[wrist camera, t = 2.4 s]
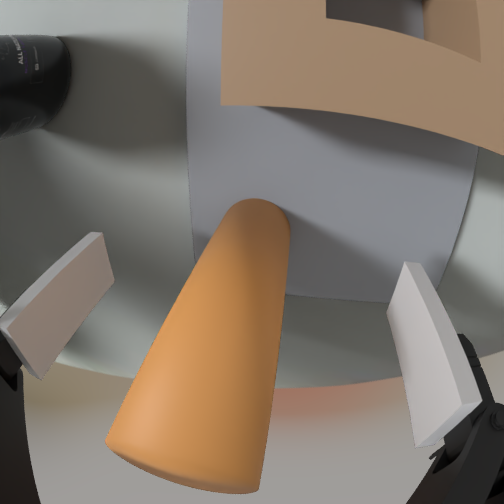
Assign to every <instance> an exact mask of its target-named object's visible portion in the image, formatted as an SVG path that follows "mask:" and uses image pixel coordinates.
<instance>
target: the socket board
mask: <svg viewBox="0 0 504 504" xmlns="http://www.w3.org/2000/svg"><path fill="white" fill-rule="evenodd" d="M186 118H187V152H188V174H189V192H190V207H191V221H192V234H193V245H194V256H195V265H196V263H197V262H198V260H199V258H200V256H201V255H202V253H203V251H204V249H205V248H206V246H207V244H208V243H209V241H210V239H211V237H212V236H213V234H214V232H215V231H216V229H217V227H218V226H219V224H220V222H221V221H222V219H223V217H224V215H225V214H226V212H227V211H228V210H229V208H230V207H231V206H233V205H234V204H235V203H237V202H239V201H242V200H245V199H250V198H258V199H263V200H267V201H269V202H271V203H273V204H275V205H276V206H278V207H279V208H280V209H281V210H282V211H283V212H284V214H285V215H286V217H287V219H288V221H289V224H290V230H291V231H290V246H289V258H288V269H287V280H286V290H285V295H293V296H303V297H314V298H326V299H338V300H351V301H364V302H379V303H390V301H391V299H392V296H393V293H394V291H395V288H396V285H397V282H398V279H399V277H400V274H401V271H402V268H403V265H404V261H405V262H415V263H420V264H421V265H422V267H423V269H424V271H425V272H426V274H427V276H428V278H429V279H430V281H431V283H432V285H433V287H434V289H435V291H436V290H437V288H438V286H439V283H440V281H441V278H442V276H443V273H444V271H445V268H446V266H447V263H448V260H449V258H450V255H451V252H452V249H453V247H454V244H455V241H456V238H457V235H458V232H459V228H460V225H461V222H462V218H463V215H464V212H465V208H466V204H467V200H468V197H469V193H470V188H471V184H472V180H473V175H474V170H475V166H476V160H477V155H478V149H479V146H480V147H483V148H485V149H488V150H491V151H493V152H496V153H498V154H501V155H503V156H504V0H189V4H188V23H187V54H186Z"/></svg>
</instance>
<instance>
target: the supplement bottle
mask: <svg viewBox="0 0 504 504" xmlns="http://www.w3.org/2000/svg"><path fill="white" fill-rule="evenodd" d="M70 74H71V63H70V56H69V53H68V50H67V48H66V46H65V45H64V43H63V42H62V41H61V40H60V39H58V38H56V37H54V36H48V35H0V140H3V139H6V138H8V137H11V136H14V135H17V134H20V133H23V132H27V131H29V130H33V129H36V128H39V127H41V126H43V125H45V124H46V123H48V122H49V121H50V120H51V119H52V118H53V117H54V116H55V114H56V113H57V112H58V110H59V109H60V107H61V105H62V103H63V101H64V99H65V96H66V94H67V90H68V86H69V82H70Z"/></svg>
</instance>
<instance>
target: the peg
mask: <svg viewBox="0 0 504 504" xmlns="http://www.w3.org/2000/svg"><path fill="white" fill-rule="evenodd" d="M290 231H291V230H290V224H289V221H288V219H287V217H286V215H285V214H284V212H283V211H282V210H281V209H280V208H279V207H278V206H276V205H275V204H273V203H271V202H269V201H267V200H263V199H258V198H250V199H245V200H242V201H239V202H237V203H235V204H234V205H233V206H231V207H230V208H229V210H228V211H227V212H226V214H225V215H224V217H223V219H222V221H221V222H220V224H219V226H218V227H217V229H216V231H215V232H214V234H213V236H212V237H211V239H210V241H209V243H208V244H207V246H206V248H205V249H204V251H203V253H202V255H201V256H200V258H199V260H198V262H197V263H196V265H195V267H194V269H193V270H192V272H191V274H190V276H189V278H188V279H187V281H186V283H185V285H184V286H183V288H182V290H181V292H180V294H179V295H178V297H177V299H176V301H175V303H174V305H173V306H172V308H171V310H170V312H169V314H168V316H167V317H166V319H165V321H164V323H163V325H162V327H161V329H160V331H159V332H158V334H157V336H156V338H155V340H154V342H153V344H152V346H151V348H150V350H149V352H148V353H147V355H146V357H145V359H144V361H143V363H142V365H141V367H140V369H139V371H138V373H137V375H136V377H135V379H134V381H133V383H132V385H131V387H130V389H129V391H128V393H127V395H126V397H125V399H124V401H123V403H122V405H121V408H120V410H119V412H118V414H117V416H116V418H115V420H114V422H113V425H112V427H111V429H110V431H109V433H108V435H107V437H106V439H105V443H106V445H107V446H108V447H109V448H110V449H111V450H112V451H113V452H114V453H116V454H117V455H118V456H120V457H121V458H122V459H124V460H126V461H127V462H129V463H131V464H132V465H134V466H136V467H138V468H140V469H142V470H144V471H146V472H149V473H151V474H153V475H155V476H158V477H161V478H163V479H166V480H169V481H172V482H174V483H178V484H181V485H184V486H188V487H192V488H196V489H201V490H206V491H211V492H218V493H227V494H248V493H253V492H256V491H258V489H259V485H260V479H261V473H262V467H263V461H264V454H265V448H266V442H267V436H268V429H269V422H270V415H271V408H272V401H273V394H274V386H275V379H276V371H277V363H278V355H279V346H280V337H281V329H282V319H283V310H284V300H285V290H286V280H287V269H288V258H289V246H290Z"/></svg>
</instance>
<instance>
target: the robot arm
mask: <svg viewBox="0 0 504 504" xmlns="http://www.w3.org/2000/svg"><path fill="white" fill-rule="evenodd" d="M114 282H115V279H114V276H113V272H112V269H111V265H110V261H109V257H108V253H107V249H106V245H105V241H104V237H103V233H100V232H90V233H89V234H87V235H86V236H85V237H84V238H83V239H81V240H80V241H79V242H78V243H77V244H76V245H74V246H73V247H72V248H71V249H70V250H69V251H68V252H66V253H65V254H64V255H63V256H62V257H61V258H60V259H59V260H57V261H56V262H55V263H54V264H53V265H52V266H51V267H50V268H49V269H48V270H47V271H46V272H45V273H43V274H42V275H41V276H40V277H39V278H38V279H37V280H36V281H35V282H34V283H33V284H32V285H31V286H30V287H28V288H27V289H26V290H25V291H24V292H23V293H22V294H21V295H20V297H18V298H17V299H16V300H15V303H13V304H12V305H11V306H10V307H9V308H8V309H7V310H6V311H5V312H4V313H3V315H2V316H1V317H0V504H41V503H40V499H39V496H38V492H37V488H36V484H35V480H34V475H33V470H32V465H31V461H30V454H29V448H28V441H27V433H26V423H25V412H24V393H23V372H22V370H21V369H20V367H21V366H22V364H23V365H24V366H25V368H26V369H27V370H28V372H29V373H30V374H31V375H33V376H35V377H36V378H38V379H40V380H42V379H43V377H44V376H45V374H46V373H47V371H48V370H49V368H50V367H51V365H52V364H53V362H54V361H55V360H56V358H57V357H58V355H59V354H60V352H61V351H62V350H63V348H64V347H65V345H66V344H67V343H68V341H69V340H70V338H71V337H72V336H73V334H74V333H75V332H76V330H77V329H78V328H79V326H80V325H81V324H82V322H83V321H84V320H85V318H86V317H87V316H88V315H89V313H90V312H91V311H92V309H93V308H94V307H95V306H96V304H97V303H98V302H99V301H100V299H101V298H102V297H103V296H104V294H105V293H106V292H107V291H108V289H109V288H110V287H111V286H112V284H113V283H114ZM386 314H387V318H388V321H389V325H390V328H391V332H392V336H393V340H394V343H395V347H396V351H397V355H398V359H399V364H400V368H401V372H402V377H403V381H404V386H405V391H406V396H407V401H408V407H409V412H410V418H411V424H412V431H413V437H414V445H415V448H420V447H426V446H431V445H435V444H436V443H437V442H438V441H439V440H441V439H442V438H443V437H444V441H445V445H444V446H442V447H441V448H440V449H438V450H437V451H436V452H435V453H433V454H432V455H431V456H430V457H429V459H430V460H431V459H433V458H434V457H435V456H436V458H435V460H434V462H433V463H432V465H431V467H430V468H429V470H428V472H427V473H426V475H425V476H424V478H423V480H422V481H421V483H420V484H419V486H418V487H417V489H416V490H415V492H414V493H413V495H412V496H411V497H410V499H409V500H408V501H407V503H406V504H504V405H503V404H500V403H495V401H494V399H493V396H492V393H491V390H490V387H489V384H488V382H487V379H486V376H485V374H484V371H483V369H482V367H481V364H480V361H479V359H478V358H477V354H476V352H475V350H474V348H473V345H472V344H471V342H470V341H469V340H468V339H467V338H466V337H465V335H464V334H456V331H455V329H454V327H453V325H452V323H451V321H450V318H449V316H448V314H447V312H446V310H445V308H444V306H443V304H442V302H441V300H440V298H439V296H438V294H437V293H436V291H435V289H434V287H433V285H432V283H431V281H430V279H429V278H428V276H427V274H426V272H425V271H424V269H423V267H422V265H421V264H420V263H415V262H405V261H404V265H403V268H402V271H401V274H400V277H399V279H398V282H397V285H396V288H395V291H394V293H393V296H392V299H391V301H390V304H389V307H388V309H387V312H386Z"/></svg>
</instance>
